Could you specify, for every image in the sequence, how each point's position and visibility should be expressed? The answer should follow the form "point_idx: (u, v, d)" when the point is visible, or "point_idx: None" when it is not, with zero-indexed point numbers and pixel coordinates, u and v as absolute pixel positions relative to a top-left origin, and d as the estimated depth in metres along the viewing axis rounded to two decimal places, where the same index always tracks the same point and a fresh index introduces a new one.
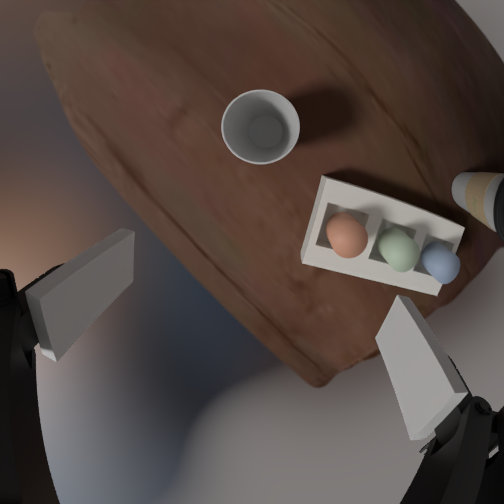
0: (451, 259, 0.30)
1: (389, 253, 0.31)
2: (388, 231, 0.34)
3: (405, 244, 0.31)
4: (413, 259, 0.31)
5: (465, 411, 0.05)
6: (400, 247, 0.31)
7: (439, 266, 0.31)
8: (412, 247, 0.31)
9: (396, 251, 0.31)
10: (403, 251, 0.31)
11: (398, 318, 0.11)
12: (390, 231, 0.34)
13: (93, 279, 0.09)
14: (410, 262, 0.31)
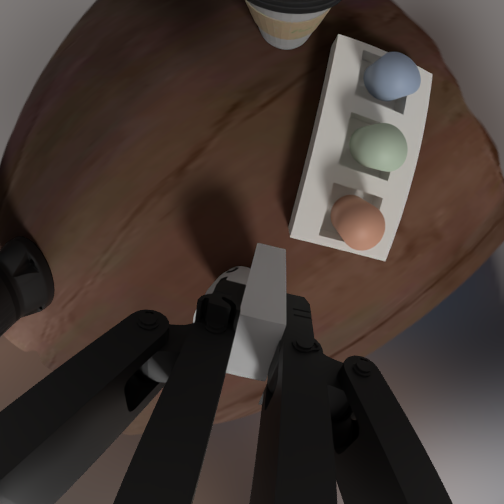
0: (387, 67, 0.19)
1: (382, 170, 0.23)
2: (354, 156, 0.26)
3: (371, 147, 0.22)
4: (391, 132, 0.21)
5: (280, 355, 0.07)
6: (375, 155, 0.22)
7: (397, 88, 0.19)
8: (375, 135, 0.21)
9: (380, 161, 0.22)
10: (380, 150, 0.22)
11: None
12: (354, 154, 0.26)
13: None
14: (395, 137, 0.21)
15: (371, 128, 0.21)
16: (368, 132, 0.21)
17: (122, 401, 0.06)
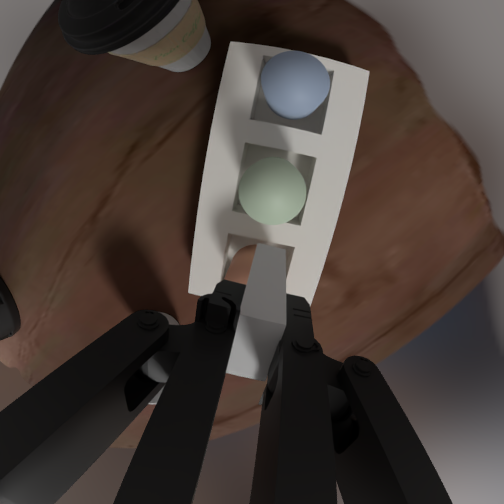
0: (273, 76, 0.15)
1: (270, 223, 0.19)
2: None
3: (249, 195, 0.19)
4: (278, 171, 0.18)
5: (280, 355, 0.07)
6: (256, 205, 0.19)
7: (290, 104, 0.16)
8: (254, 179, 0.18)
9: (264, 212, 0.19)
10: (263, 197, 0.19)
11: None
12: None
13: None
14: (286, 176, 0.18)
15: (248, 169, 0.18)
16: (244, 175, 0.18)
17: (122, 401, 0.06)
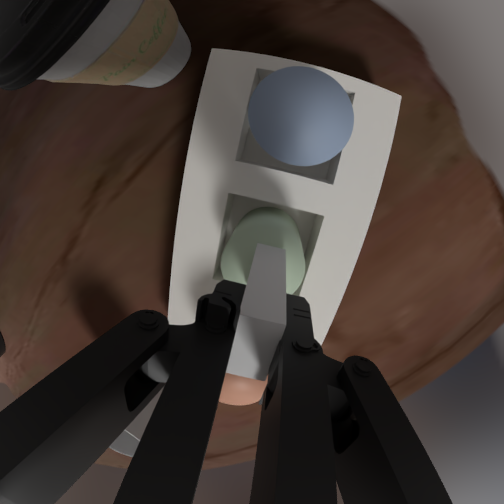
0: (268, 108, 0.11)
1: None
2: None
3: (234, 270, 0.15)
4: (271, 243, 0.14)
5: (280, 355, 0.07)
6: (242, 281, 0.15)
7: (291, 153, 0.11)
8: (240, 251, 0.15)
9: None
10: None
11: None
12: None
13: None
14: None
15: (233, 239, 0.15)
16: (227, 246, 0.15)
17: (122, 401, 0.06)
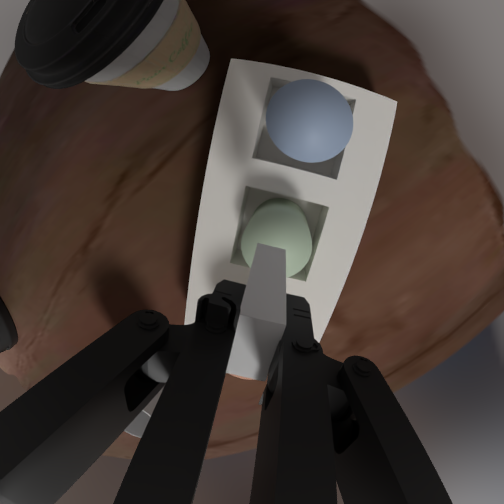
0: (282, 114, 0.13)
1: None
2: None
3: (252, 249, 0.18)
4: (284, 225, 0.17)
5: (280, 355, 0.07)
6: None
7: (301, 152, 0.13)
8: (258, 232, 0.18)
9: None
10: None
11: None
12: None
13: None
14: (291, 231, 0.17)
15: (252, 222, 0.17)
16: (247, 228, 0.18)
17: (122, 401, 0.06)
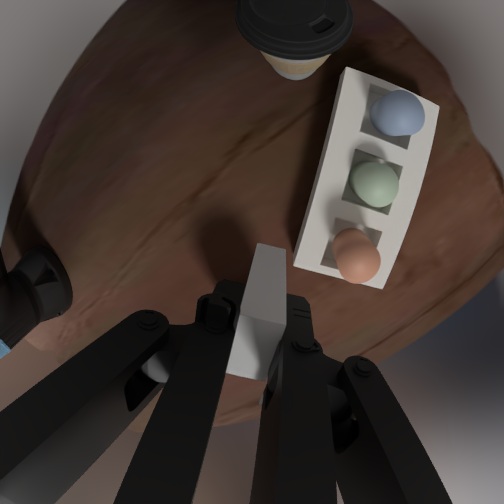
0: (391, 107, 0.21)
1: (374, 206, 0.27)
2: (352, 189, 0.30)
3: (365, 186, 0.26)
4: (384, 172, 0.25)
5: (280, 355, 0.07)
6: (368, 192, 0.26)
7: (401, 128, 0.21)
8: (369, 175, 0.25)
9: (373, 197, 0.26)
10: (373, 188, 0.26)
11: None
12: (352, 188, 0.30)
13: None
14: (388, 176, 0.25)
15: (366, 168, 0.25)
16: (363, 172, 0.25)
17: (122, 401, 0.06)
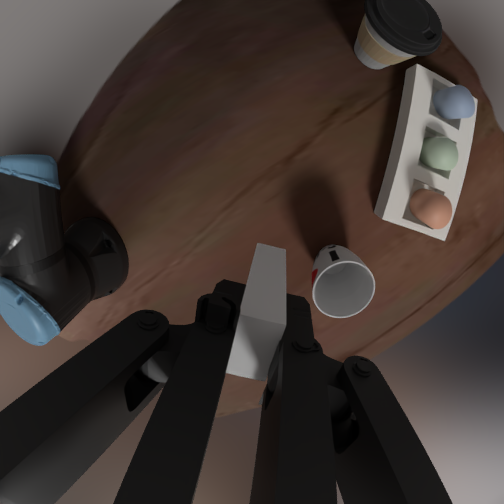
0: (455, 96, 0.23)
1: (443, 169, 0.29)
2: (421, 158, 0.33)
3: (437, 153, 0.28)
4: (449, 144, 0.28)
5: (280, 355, 0.07)
6: (439, 159, 0.29)
7: (461, 112, 0.24)
8: (440, 145, 0.28)
9: (442, 163, 0.29)
10: (443, 155, 0.28)
11: None
12: (422, 157, 0.32)
13: None
14: (451, 147, 0.28)
15: (437, 140, 0.28)
16: (436, 143, 0.28)
17: (122, 400, 0.06)
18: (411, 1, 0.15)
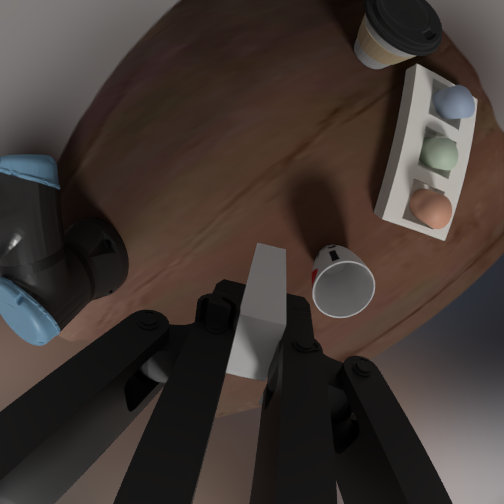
0: (455, 96, 0.23)
1: (443, 169, 0.29)
2: (421, 158, 0.33)
3: (437, 153, 0.28)
4: (449, 144, 0.28)
5: (280, 355, 0.07)
6: (439, 158, 0.29)
7: (461, 112, 0.24)
8: (440, 145, 0.28)
9: (442, 163, 0.29)
10: (442, 155, 0.28)
11: None
12: (422, 157, 0.32)
13: None
14: (451, 147, 0.28)
15: (437, 140, 0.28)
16: (436, 143, 0.28)
17: (122, 401, 0.06)
18: (411, 1, 0.15)
